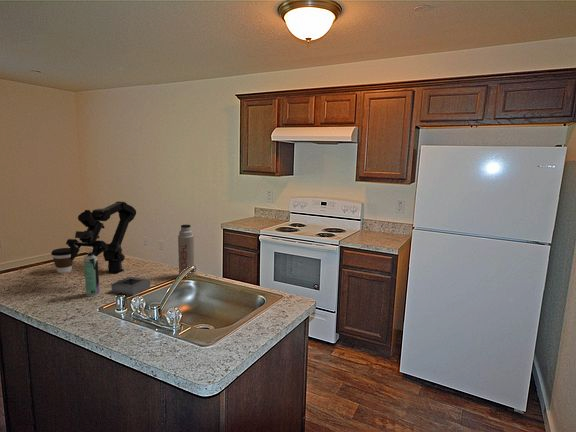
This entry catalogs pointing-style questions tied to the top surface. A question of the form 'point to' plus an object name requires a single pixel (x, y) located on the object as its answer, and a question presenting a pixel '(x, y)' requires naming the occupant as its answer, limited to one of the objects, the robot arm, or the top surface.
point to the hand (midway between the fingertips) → (80, 260)
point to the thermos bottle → (186, 248)
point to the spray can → (91, 275)
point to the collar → (130, 285)
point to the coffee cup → (62, 259)
